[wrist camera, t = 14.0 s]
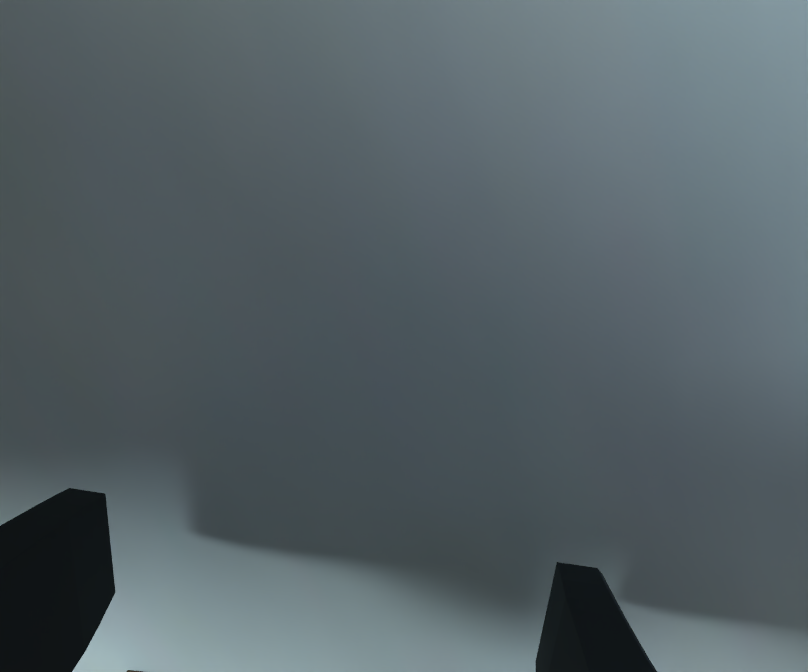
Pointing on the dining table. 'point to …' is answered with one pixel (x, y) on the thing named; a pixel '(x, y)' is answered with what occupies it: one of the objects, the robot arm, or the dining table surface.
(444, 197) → the dining table surface
